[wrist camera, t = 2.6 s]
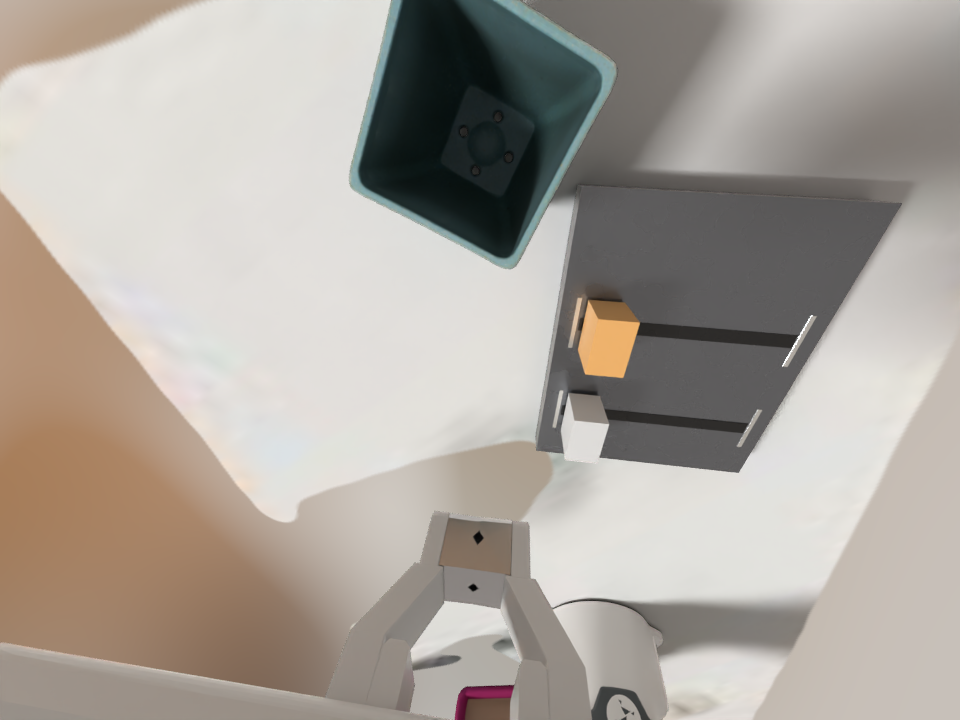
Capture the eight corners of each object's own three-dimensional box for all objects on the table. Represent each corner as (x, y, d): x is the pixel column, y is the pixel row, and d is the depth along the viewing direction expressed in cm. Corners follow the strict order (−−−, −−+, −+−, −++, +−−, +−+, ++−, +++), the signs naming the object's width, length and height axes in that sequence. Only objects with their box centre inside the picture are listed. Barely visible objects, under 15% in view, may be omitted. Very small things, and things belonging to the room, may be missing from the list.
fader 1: (589, 433, 30) (597, 463, 27) (560, 430, 30) (564, 459, 27) (599, 395, 28) (609, 424, 25) (568, 392, 28) (574, 420, 25)
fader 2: (611, 352, 26) (623, 378, 23) (577, 349, 26) (585, 374, 23) (625, 302, 24) (640, 322, 21) (588, 299, 24) (598, 319, 21)
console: (726, 456, 32) (738, 473, 30) (535, 435, 33) (536, 450, 32) (871, 200, 21) (902, 203, 19) (577, 184, 22) (581, 186, 21)
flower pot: (586, 103, 20) (626, 65, 13) (515, 240, 25) (512, 274, 17) (453, 21, 19) (407, -77, 11) (403, 180, 23) (344, 187, 16)
